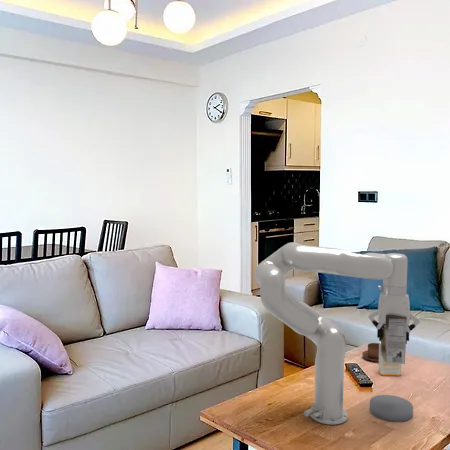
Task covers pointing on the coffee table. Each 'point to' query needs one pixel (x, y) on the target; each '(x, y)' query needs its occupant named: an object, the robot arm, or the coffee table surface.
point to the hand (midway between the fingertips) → (392, 340)
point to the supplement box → (388, 366)
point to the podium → (391, 408)
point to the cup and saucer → (372, 352)
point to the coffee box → (394, 339)
